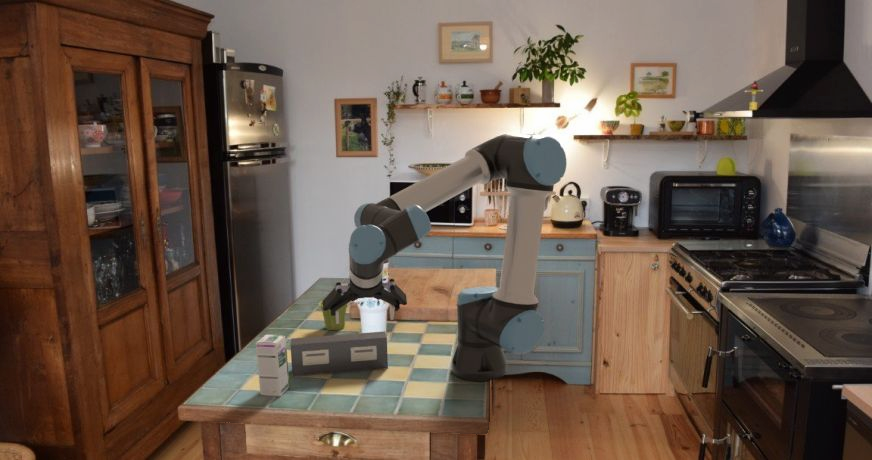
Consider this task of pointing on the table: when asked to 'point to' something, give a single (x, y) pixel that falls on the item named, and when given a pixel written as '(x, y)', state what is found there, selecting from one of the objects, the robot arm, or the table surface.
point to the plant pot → (334, 318)
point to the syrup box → (272, 365)
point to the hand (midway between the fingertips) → (364, 317)
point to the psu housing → (339, 353)
